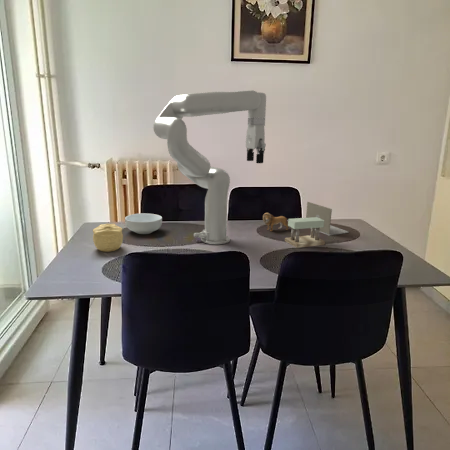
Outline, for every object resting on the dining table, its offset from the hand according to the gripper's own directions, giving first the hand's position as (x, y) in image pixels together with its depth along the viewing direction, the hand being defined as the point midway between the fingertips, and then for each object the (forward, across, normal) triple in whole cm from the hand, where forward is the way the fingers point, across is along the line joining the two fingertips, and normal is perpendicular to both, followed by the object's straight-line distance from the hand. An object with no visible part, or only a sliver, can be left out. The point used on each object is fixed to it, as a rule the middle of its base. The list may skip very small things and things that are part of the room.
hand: (254, 162), depth 177 cm
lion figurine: (+34, -2, +14) cm, 36 cm away
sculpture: (+34, +3, -65) cm, 73 cm away
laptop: (+34, +4, +39) cm, 52 cm away
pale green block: (+26, +20, +16) cm, 36 cm away
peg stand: (+33, +20, +16) cm, 42 cm away
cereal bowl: (+34, -18, -47) cm, 61 cm away
